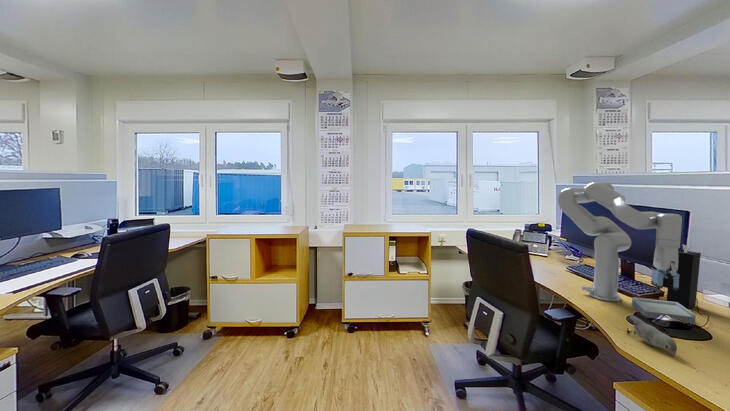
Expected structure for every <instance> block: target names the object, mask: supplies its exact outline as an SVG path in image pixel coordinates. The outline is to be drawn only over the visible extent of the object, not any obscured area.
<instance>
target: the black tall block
mask: <svg viewBox="0 0 730 411" xmlns="http://www.w3.org/2000/svg"><path fill="white" fill-rule="evenodd" d="M681 246H683V247H682V250H684V252H681V251H678V270H677V271H676V272H677V274H679V289H678V290H673V289H672V288H667V291H666V301H671V302H678V303H679V304H681V305H682V306H684V307H685V308H687V309H688V310H690V309H691V308H694V307H696V305H697V294H698V293H697V292H698V285H699V284H698V283H699V272H700V262H701V254H702V253H701V252H696V251H689V250H690V249H691V248H692V246H690V245H686V244H684V243H683V244H682V245H681ZM668 271H671V270H669V269H668Z"/></svg>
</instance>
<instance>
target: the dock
mask: <svg viewBox="0 0 730 411" xmlns="http://www.w3.org/2000/svg"><path fill="white" fill-rule="evenodd" d="M631 299H632V300H631V307H632V308H633V309H634V310H635V311H637V312H638V313H639V312H640V313H641V314H643V315H644V316H658V315H668V316H672V317H675V318H678V319H681V320H683V321H685V322H687V323H690V324H689V325H692V324H693V326H695V325H696V315H697V314H695V313H694V312H692V311H691V310H690V309H687V308H685V307H684V306H682V305H681V304H679V303H678V302H671V301H667V300H659V299H652V298H645V297H635V296H633V297H632V298H631ZM640 313H639V314H640ZM641 314H640V315H641Z"/></svg>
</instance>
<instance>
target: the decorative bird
mask: <svg viewBox="0 0 730 411" xmlns="http://www.w3.org/2000/svg"><path fill="white" fill-rule="evenodd" d="M629 317H630V320H632V321H633V325H632V326H633V329H632V330H631V331H630V330H629V328H628V327H626V328H627V330H626V335H628V336H630V335H632V333H633V336H634V335H636V336H638V337H639V338H640V339H641V340H643V341H644V342H646V344H647V345H650V346H652V347H655V348H657V349H665V351H667V353H668V354H670V355H671V357H673V356H674V357H675V355H676V354H677V349H678V348H677V342H676V341H675V340H674V339H673V338H672V337H671V336H669V335H667V334H666V333H663V332H662V331H661V330H659V329H657V328H656V327H655V326H653V325H651V324H649V323H646V322H644V321H643V320H642V319H641V318H639V317H637V316H635V315H632V314H631V315H630V316H629Z"/></svg>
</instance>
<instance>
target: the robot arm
mask: <svg viewBox="0 0 730 411" xmlns="http://www.w3.org/2000/svg"><path fill="white" fill-rule="evenodd" d="M625 201H626V196H625V195H623V194H621V193H620V192H618V191H616V190H615V187H614V185H613V184H611V183H609V182H605V181H594V182H589V183H588V184H587V185H586V186H584V187H583V186H582V187H578V186H577V187H566V188H564V189H562V190H560V191H559V193H558V196H557V204H558V206H559V208H560V210H561V211H562V212H563V213H564V214H565V215H566V216H567V217H568V218H569V219H570V220H571V221H572V222H573V223H574V224H575V225H576V226H577V227H578V228H579V229H580V230H581V231H582V232H583V233H584V234H585V235H587V236H590V237H591V236H592V237H594V236H596V237H595V239H594V241H593V247H594V271H593V272H594V273H593V284H591V286H586V285H585V286H584V285H582V286H581V291H585V292H587V293H588V295H589V296H590V297H592V298H594V299H597V300H601V301H606V302H620V301H621V300H622V297H621V296H620V295H618V287H619V272H620V257H619V254H618V253H619V252H624V251H626V250H629V249H630V247H631V246H632V239H631V238H630V236H629V235H628V234H627V232H626V231H624V229H622V228H621V227H619V226H618V225H617V224H616V223H615V222H614V221H613V220H611V219H610V218H608V217H606V216H595V215H593V213H591V212H589V211H588V209H587V208H586V207H584V206H583V205H580V204H586V203H591V202H596V203H597V204H599V205H600V206H603V207H604V208H605V209H608V210H609V211H610V212H611V213H612V214H613V216H614V218H617V219H618V220H619V221H620V222H622V223H624V224H626V225H627V226H629V227H631V228H633V229H636V230H650V229H656V233H655V248H654V253H653V262H652V265H653V267H655V268H656V270H661V271H664V274H665V278H663V288H664V289H668V288H673V283H674V276H675V275H676V274H677V272H676V271H677V270H678V250H679V249H680V248H681V237H682V225H683V224H682V223H683V222H682V221H683V217H682V215H680V214H679V213H678V214H677V213H661V212H657V211H640V210H638V209H636V208H634V207H632V206H630V205H629V204H628V203H626V202H625ZM669 270H671V271H669ZM667 272H670V273H668V275H667Z"/></svg>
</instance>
